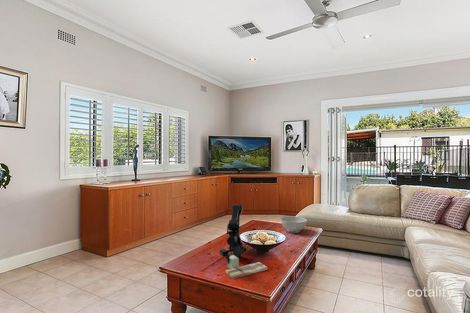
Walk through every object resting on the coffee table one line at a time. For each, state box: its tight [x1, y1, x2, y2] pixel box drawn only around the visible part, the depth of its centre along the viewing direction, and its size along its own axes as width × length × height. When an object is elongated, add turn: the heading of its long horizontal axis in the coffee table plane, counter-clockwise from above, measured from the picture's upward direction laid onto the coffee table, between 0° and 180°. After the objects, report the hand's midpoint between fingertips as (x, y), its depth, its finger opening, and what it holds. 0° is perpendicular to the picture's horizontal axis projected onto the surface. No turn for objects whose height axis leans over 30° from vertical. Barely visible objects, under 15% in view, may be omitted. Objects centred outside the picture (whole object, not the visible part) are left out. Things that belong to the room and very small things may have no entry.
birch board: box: [225, 261, 269, 280], centre depth 174 cm, size 10×27×2 cm, turn 120°
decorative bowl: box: [280, 215, 308, 234], centre depth 266 cm, size 27×27×12 cm
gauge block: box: [227, 254, 240, 269], centre depth 180 cm, size 10×5×7 cm, turn 30°
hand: (233, 263), depth 179 cm, fingers open, 7 cm apart
